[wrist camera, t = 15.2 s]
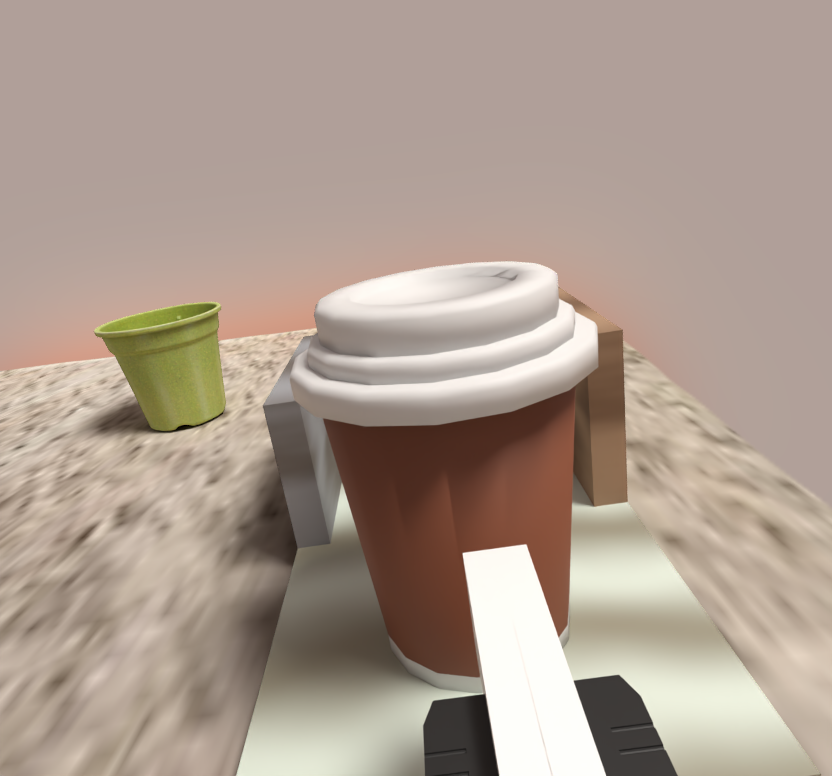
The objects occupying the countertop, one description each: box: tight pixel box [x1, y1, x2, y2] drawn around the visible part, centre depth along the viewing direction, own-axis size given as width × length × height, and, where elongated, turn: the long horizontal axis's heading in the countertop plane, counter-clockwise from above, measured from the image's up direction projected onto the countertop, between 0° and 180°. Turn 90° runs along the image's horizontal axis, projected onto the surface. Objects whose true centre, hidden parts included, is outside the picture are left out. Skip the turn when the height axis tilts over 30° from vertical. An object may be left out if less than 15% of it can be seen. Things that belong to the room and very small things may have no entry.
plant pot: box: [94, 302, 226, 431], centre depth 48 cm, size 9×9×9 cm
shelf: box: [236, 287, 821, 776], centre depth 25 cm, size 24×15×9 cm, turn 1°
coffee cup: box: [290, 261, 598, 694], centre depth 19 cm, size 9×9×12 cm
